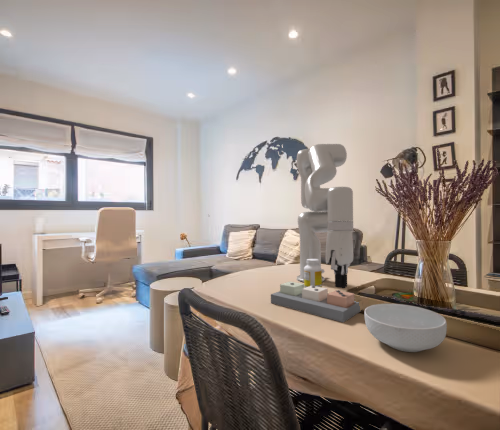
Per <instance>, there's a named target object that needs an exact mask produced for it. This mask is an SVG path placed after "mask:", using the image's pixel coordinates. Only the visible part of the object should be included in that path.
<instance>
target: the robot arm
mask: <svg viewBox="0 0 500 430" xmlns="http://www.w3.org/2000/svg"><path fill="white" fill-rule="evenodd" d="M346 149H347V148H346V147H345V146H344V145H343V144H341V143H318V144H315V145H313V146H311V147H310V148H305V149H301V150H299V151H298V152H297V154H296V166H297V169H298V173H299V176H300V189H301V190H300V200H301V202H300V203H301V206H302V207H303V208H304V209H308V210H310V211H304V212H301V213H300V214H298V217H297V225H298V234H299V275H297V276H296V280H297V281H299V282H302V283H304V267H305V266H307V259H318V260H319V264H318V266H320V267H321V269H322V274H324V273H325V269H324V268H322V244H321V239H320V238H319V237H318V235H316V233H327V234H326V240H325V241H326V242H325V243H326V245H325V263H326V265H330V270H332V271H333V274H334V287H335V288H339V289H340V288H341V289H346V288H348V273H349V272H348V271H349V267H350V265H351V263H352V262H353V261H354V240H353V233H354V192H353V189H352V188H351V187H348V186H333V187H329V188H328V187H321V186H322V185H324V184H326V183H329V182H330V181H333V180H334V178H335V177H336V175H337V171H338V170H337V168H338V167H341V166H343V165H345V163H346V161H347V158H348V157H347V156H348V154H347V150H346ZM325 279H326V278H325V277H324V276H323V275H322V283H323V282H324V281H325Z"/></svg>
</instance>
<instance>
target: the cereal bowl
mask: <svg viewBox="0 0 500 430" xmlns="http://www.w3.org/2000/svg"><path fill="white" fill-rule="evenodd" d="M364 321H365V322H364V323H365V327H366V328H367V330H368V331H369V333H370V334H371V335H372V336H373V338H375V339H377V340H378V341H380V342H381V343H383V344H386V345H387V346H389V347H390V348H392V349H395V350H398V351H401V352H407V353H418V352H422V351H424V350H430V349H433V348H435V347H437V346H438V347H439V345H441V343H442V342H443V341H444V340H445V338H446V335H447V328H448V327H447V326H448V324H447V320H446V318H445V317H444V315H441V314H440V313H438V312H436V311H433V310H430V309H427V308H423V307H421V306H415V305H409V304H403V303H378V304H377V303H376V304H372V305H370V306H367V307H366V308H365V309H364Z"/></svg>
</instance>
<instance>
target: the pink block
mask: <svg viewBox="0 0 500 430" xmlns="http://www.w3.org/2000/svg"><path fill="white" fill-rule="evenodd" d="M354 299H355V293H354V292H348V291H342V290H338V289H337V290H335V289H334V290H333V291H331V292H329V293H328V294H327V304H330V305H335V306H339V307H343V308H348V307H350V306H352V305H353V304H354Z"/></svg>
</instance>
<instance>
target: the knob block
mask: <svg viewBox="0 0 500 430" xmlns="http://www.w3.org/2000/svg"><path fill="white" fill-rule="evenodd" d="M303 288H304V283H300V282H295V281H287V282H284V283H280V285H279V289H280V290H279V291H280V293H283V294H287V295H292V296H297V295H300V294H302V289H303Z"/></svg>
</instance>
